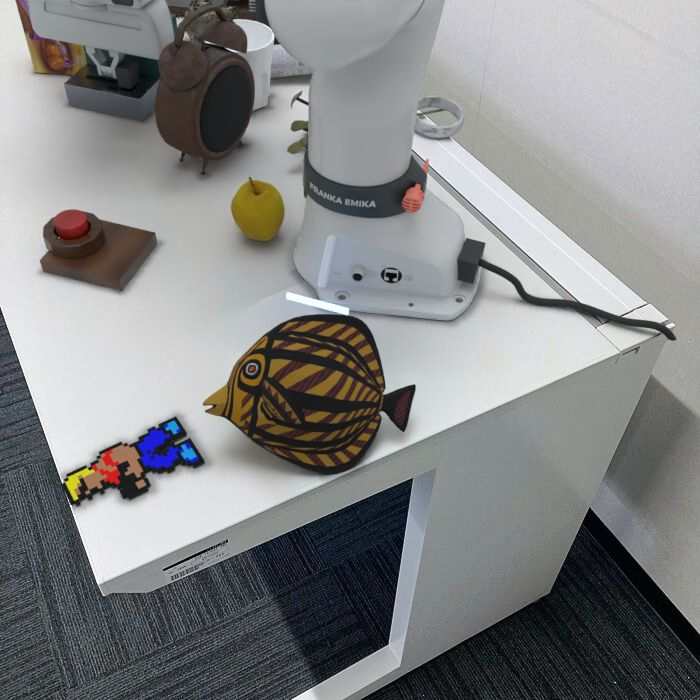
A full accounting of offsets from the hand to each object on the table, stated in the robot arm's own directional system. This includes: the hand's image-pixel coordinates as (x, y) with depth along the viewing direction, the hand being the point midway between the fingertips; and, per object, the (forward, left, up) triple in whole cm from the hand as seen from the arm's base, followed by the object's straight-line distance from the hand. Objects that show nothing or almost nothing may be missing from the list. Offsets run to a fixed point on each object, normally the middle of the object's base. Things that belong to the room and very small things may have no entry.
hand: (110, 75), depth 111 cm
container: (-26, -19, -1) cm, 33 cm away
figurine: (-26, +5, 0) cm, 27 cm away
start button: (-12, +31, -1) cm, 34 cm away
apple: (-31, +21, -5) cm, 38 cm away
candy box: (+12, -7, -5) cm, 15 cm away
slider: (-3, 0, -1) cm, 3 cm away
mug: (-18, -23, -4) cm, 30 cm away
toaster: (0, -4, -4) cm, 6 cm away
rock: (-6, -31, -2) cm, 31 cm away
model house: (0, -38, -5) cm, 38 cm away
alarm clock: (-19, +7, -5) cm, 21 cm away
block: (-15, +31, -4) cm, 35 cm away
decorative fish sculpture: (-47, +53, -4) cm, 71 cm away
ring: (-46, -12, -2) cm, 48 cm away
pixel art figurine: (-36, +52, -4) cm, 64 cm away
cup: (-17, -8, -4) cm, 19 cm away
